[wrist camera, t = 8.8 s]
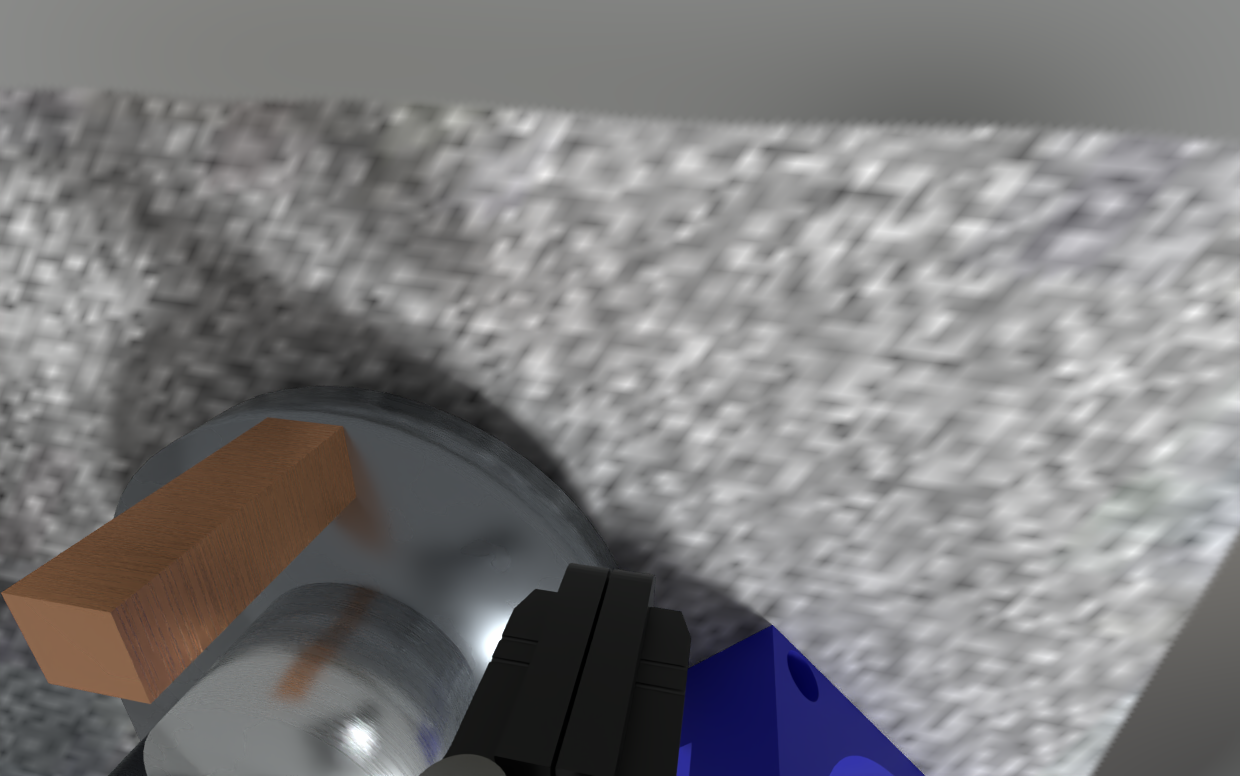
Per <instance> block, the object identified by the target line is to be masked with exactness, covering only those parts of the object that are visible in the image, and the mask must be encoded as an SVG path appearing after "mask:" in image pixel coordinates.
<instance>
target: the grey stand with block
mask: <svg viewBox="0 0 1240 776" xmlns="http://www.w3.org/2000/svg"><path fill="white" fill-rule="evenodd" d="M121 700H122V702H123V704H124V706H125V708H126V710H127V713H128V715H129V717H130V719H131V721H132V724H133V726H134V728H135V730H136V732H137V734H138V737H139V739H140V741H141V742H140V743H139V744H138V745H137V746H136V747H135V748H134V749H133V750H132V751H131V752H130V753H129V754H128V755H127V756H126V757H125V758H124V760H123V761H122V762H121V763H120V764H119V765H118V766H117V767H116V768H115V769H114V770H113V771H112V772H111V773H110V774H109V775H108V776H147V773H146V769H145V765H144V753H143V751H144V746H145V741H146V739H147V737H148V735H149V733H150V731H151V730H152V729H153V728H154V727H155V726H156V724H157V723H158V722H159V721H160V720H161V719H162V718H163V717H164V716H165V715H166V714H167V713H168V712H169V711H170V710H171V709H172V708H173V706H174V705H175V704H176V703H177V702H178V701H179V700H178V699H177V698H176V697H175V696H174V694H173V693H172V692H171V691H170V690H169V689H168V687H167V688H166V689H165V690H164V691H163V692H162V693H161V694H160V695H159V696H158V697H157V698H156V699H155V700H154V701H153V702H152V703H151V704H147V703H143V702H138V701H133V700H128V699H123V698H121Z"/></svg>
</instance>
